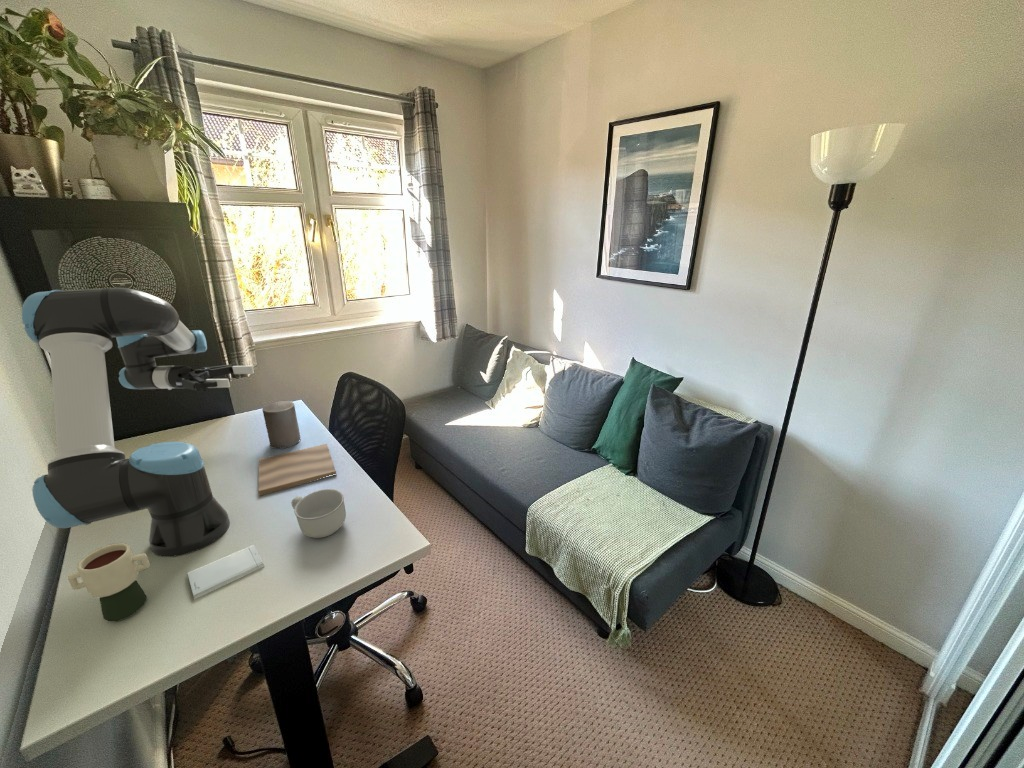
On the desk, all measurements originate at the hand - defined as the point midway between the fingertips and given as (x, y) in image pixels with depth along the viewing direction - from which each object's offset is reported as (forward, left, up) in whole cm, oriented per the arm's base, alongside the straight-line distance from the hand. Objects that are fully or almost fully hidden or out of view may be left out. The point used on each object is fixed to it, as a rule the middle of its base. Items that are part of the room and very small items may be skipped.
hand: (241, 376), depth 135 cm
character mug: (-67, +21, -25) cm, 74 cm away
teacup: (-60, -14, -25) cm, 66 cm away
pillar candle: (-5, -9, -25) cm, 27 cm away
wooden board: (-27, -11, -25) cm, 38 cm away
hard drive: (-65, +6, -25) cm, 70 cm away
